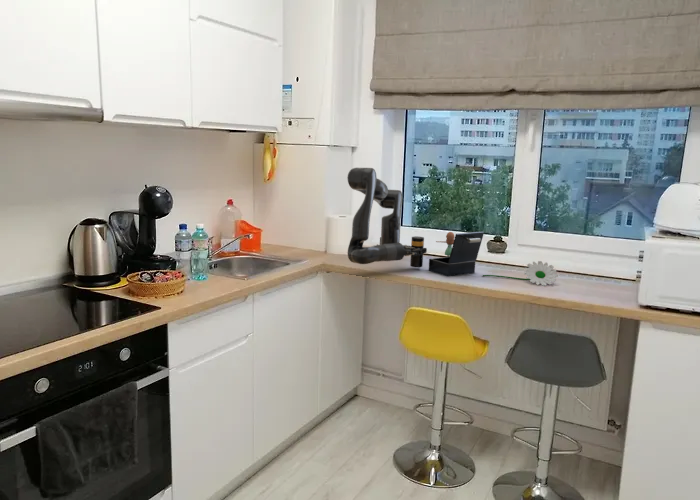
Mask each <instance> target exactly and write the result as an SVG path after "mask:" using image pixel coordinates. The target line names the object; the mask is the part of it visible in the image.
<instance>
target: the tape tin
mask: <svg viewBox="0 0 700 500" xmlns="http://www.w3.org/2000/svg"><path fill="white" fill-rule="evenodd" d="M410 243H411V244H410V246H411V247H415V248H425V247H424V245H425V237H424V236H411V242H410ZM412 250H413V249H412ZM409 262H410V265H409V267H412V268H422V267H423V263H424V253H422V255H419V256H414V257H413V256H412V255H410V261H409Z"/></svg>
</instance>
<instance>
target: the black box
mask: <svg viewBox="0 0 700 500" xmlns="http://www.w3.org/2000/svg"><path fill="white" fill-rule="evenodd" d="M449 258H450V257H447V256H443V257H434V258H429V260H428V271H429V272H432V273H436V274H438V275H441V276H445V277H455V276H462V275H470V274H475V273H476V272H475V271H476V261H468V262H459V263H450V264H449V263H448V262H449Z"/></svg>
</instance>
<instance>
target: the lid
mask: <svg viewBox="0 0 700 500" xmlns="http://www.w3.org/2000/svg"><path fill="white" fill-rule="evenodd" d="M484 235H485V232H484V231H473V232H462V233H455V234H454V237H455V238H454V243H453V244H452V250H451V254H450V258H449V262H448V263H449V264H450V263H459V262H468V261H475V262H476V261H477V259H478V256H479V252H480V248H481V246H482V245H481V244H482V241H483V238H484Z"/></svg>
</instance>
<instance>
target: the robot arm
mask: <svg viewBox="0 0 700 500" xmlns="http://www.w3.org/2000/svg"><path fill="white" fill-rule="evenodd" d="M346 179H347V184H348V187H350V189H351V190H353V191H357V192H359V193H361V194H363V195H364V199H363V200H362V203H361V204H360V206H359V208H358V209H357V210H356V212H355V214H354V216H353V218H352V225H351V237H350V240H349V243H348V248H347V258H348V260H349V262H350V263H353V264H359V265H369V264H372V263H373V264H374V263H377V262H378V263H379V262H394V261H401V260H403V259H404V258H405V257H409V256H411V255H412V256H413V257H414V256H419V255H422V253H423V254H427V253H428V252H427V251H428V249H427V247H424V248H415V247H411V245H407V244H402V243H401V242H400V240H401V219H402V210H403V209H402V208H403V198H404V197H403V192H402V191H401V190H398V189H388V186H387V184H386V183H385V182H384V181H383V180H381V179H379V178H378V177H377V173H376V170H375V169H374V168H373V167H353V168H351V169H350V170H349V172H348V174H347V178H346ZM374 202H375V203H377V204H378V205H379V206H380V208H382V209H388V210H392V212H391V213H389V214H386V215H383V216H381V222H380V223H381V224H380V225H381V226H380V237H379V244H375V245H371V246H364V242H367V241H368V240H369V236H370V222H371V213H372V208H373V204H374ZM412 249H413V250H412Z"/></svg>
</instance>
